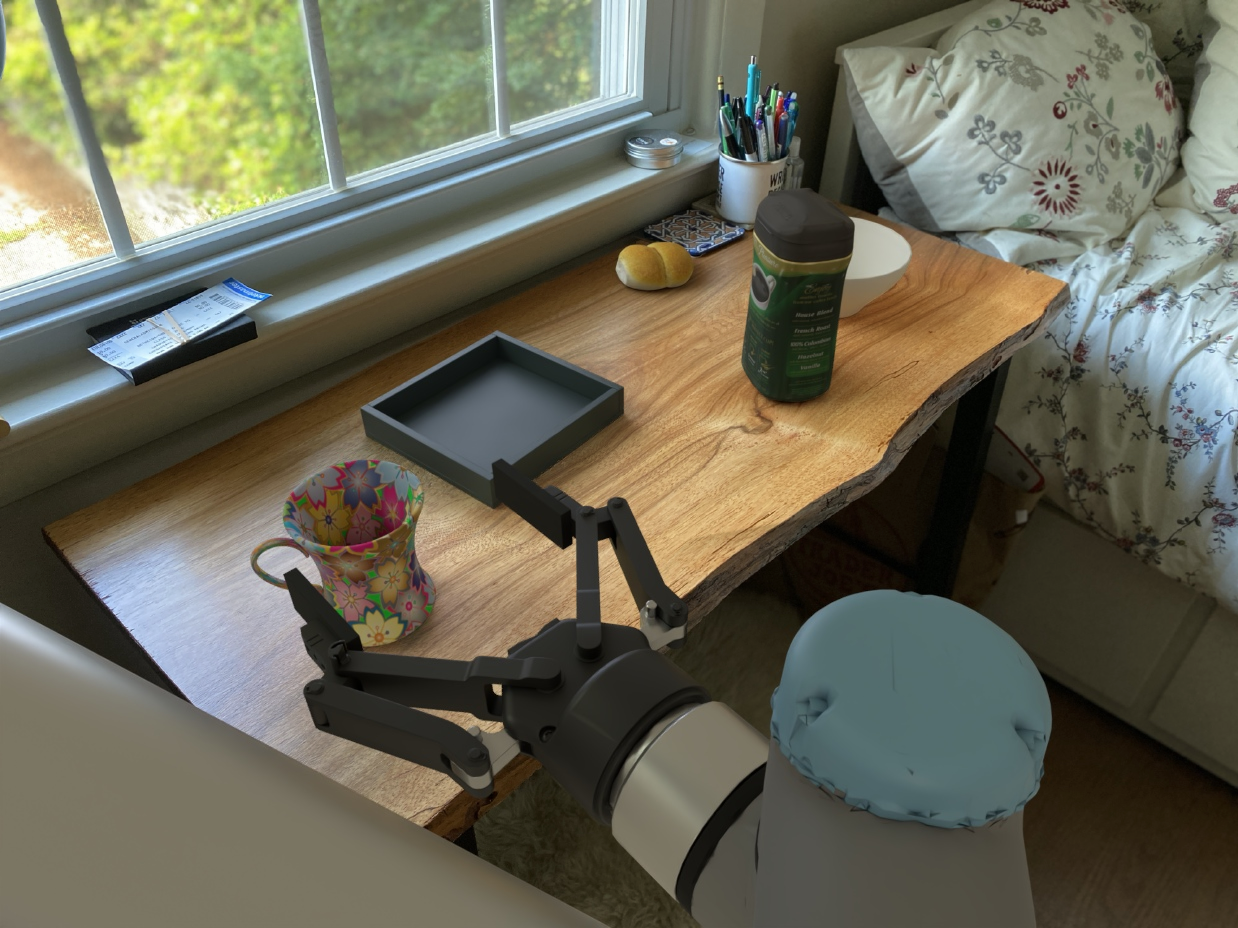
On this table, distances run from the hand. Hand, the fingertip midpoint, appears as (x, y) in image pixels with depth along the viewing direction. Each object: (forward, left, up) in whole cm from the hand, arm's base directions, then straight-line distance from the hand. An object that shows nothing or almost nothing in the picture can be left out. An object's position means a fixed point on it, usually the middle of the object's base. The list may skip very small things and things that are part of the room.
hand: (403, 529), depth 54 cm
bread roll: (+28, +56, -15) cm, 65 cm away
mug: (-5, +8, -15) cm, 18 cm away
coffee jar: (+36, +32, -15) cm, 51 cm away
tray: (+7, +30, -15) cm, 35 cm away
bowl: (+46, +46, -15) cm, 67 cm away
